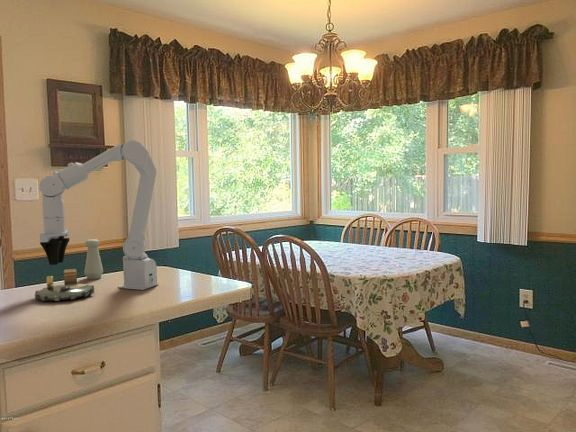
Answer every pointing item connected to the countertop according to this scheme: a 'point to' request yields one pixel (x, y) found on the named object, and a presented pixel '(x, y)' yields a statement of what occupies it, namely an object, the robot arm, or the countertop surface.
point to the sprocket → (63, 291)
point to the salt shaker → (93, 260)
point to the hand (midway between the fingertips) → (56, 263)
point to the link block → (70, 276)
